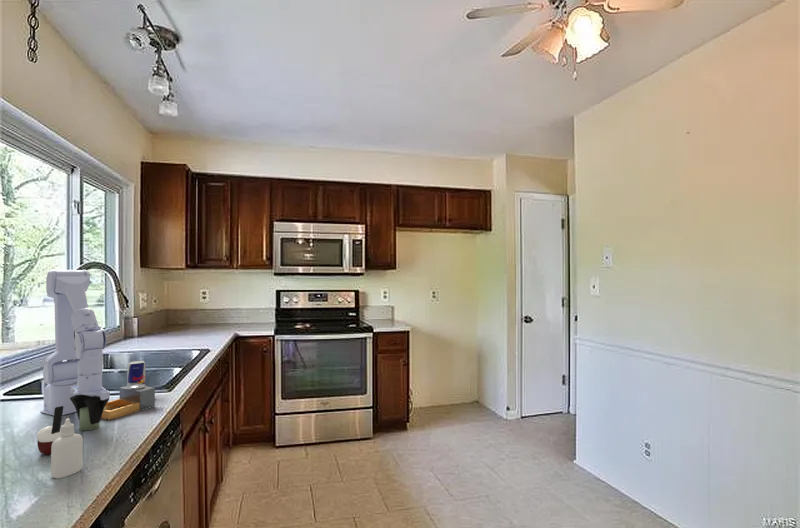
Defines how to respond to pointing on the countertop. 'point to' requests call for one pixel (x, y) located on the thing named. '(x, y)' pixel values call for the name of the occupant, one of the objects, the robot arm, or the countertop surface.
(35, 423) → the countertop surface
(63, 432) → the eye dropper bottle
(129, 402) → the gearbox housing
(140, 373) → the energy drink
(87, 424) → the spout can
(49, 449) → the cocoa
